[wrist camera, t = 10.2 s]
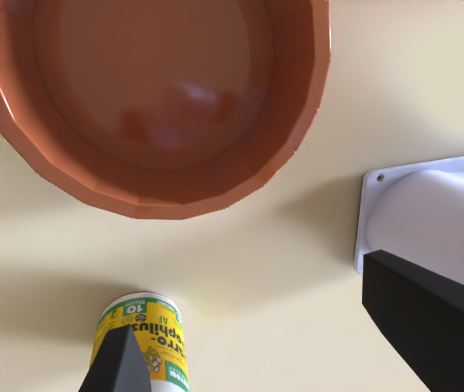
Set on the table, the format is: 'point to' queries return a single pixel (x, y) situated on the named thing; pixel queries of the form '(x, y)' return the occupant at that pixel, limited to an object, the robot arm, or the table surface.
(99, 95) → the crock
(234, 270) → the table surface
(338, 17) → the table surface
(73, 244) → the table surface
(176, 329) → the supplement bottle
